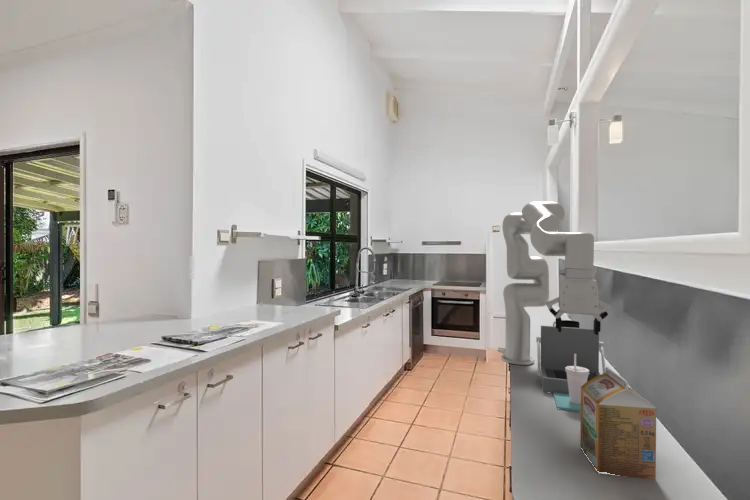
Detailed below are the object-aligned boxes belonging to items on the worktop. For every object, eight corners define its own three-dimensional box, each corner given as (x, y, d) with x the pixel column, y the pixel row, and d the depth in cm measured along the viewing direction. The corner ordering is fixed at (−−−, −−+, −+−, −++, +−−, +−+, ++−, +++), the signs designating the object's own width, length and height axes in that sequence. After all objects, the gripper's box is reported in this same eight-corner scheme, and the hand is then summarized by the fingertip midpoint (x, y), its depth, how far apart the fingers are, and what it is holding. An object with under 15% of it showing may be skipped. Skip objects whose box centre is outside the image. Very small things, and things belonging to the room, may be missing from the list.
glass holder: (568, 360, 163) (568, 324, 163) (544, 352, 177) (545, 318, 177) (585, 359, 166) (586, 323, 166) (561, 350, 179) (561, 317, 179)
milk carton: (655, 479, 79) (656, 383, 79) (597, 474, 80) (598, 380, 80) (631, 453, 89) (631, 367, 89) (580, 448, 91) (581, 365, 91)
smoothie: (562, 396, 121) (562, 350, 121) (585, 398, 120) (585, 352, 120) (568, 404, 115) (568, 356, 115) (592, 406, 114) (592, 357, 114)
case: (538, 391, 127) (538, 333, 127) (536, 377, 142) (536, 325, 142) (612, 400, 120) (613, 339, 120) (602, 384, 135) (602, 329, 135)
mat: (557, 408, 113) (557, 406, 113) (553, 394, 125) (553, 392, 125) (605, 415, 109) (605, 412, 109) (596, 399, 121) (596, 397, 121)
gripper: (547, 274, 116) (546, 332, 117) (615, 276, 111) (613, 338, 111) (545, 272, 124) (544, 327, 124) (609, 274, 118) (607, 332, 118)
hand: (577, 332), depth 118 cm, fingers open, 9 cm apart
